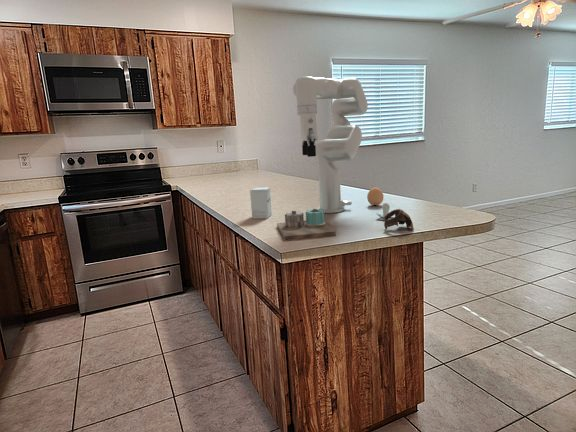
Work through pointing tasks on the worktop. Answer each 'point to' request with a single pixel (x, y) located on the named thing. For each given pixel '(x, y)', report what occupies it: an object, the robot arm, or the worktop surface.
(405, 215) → the brown arched figurine
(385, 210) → the pacifier
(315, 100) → the robot arm
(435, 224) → the worktop surface
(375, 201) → the egg
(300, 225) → the gear board
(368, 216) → the worktop surface
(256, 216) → the supplement box
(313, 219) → the teal gear
